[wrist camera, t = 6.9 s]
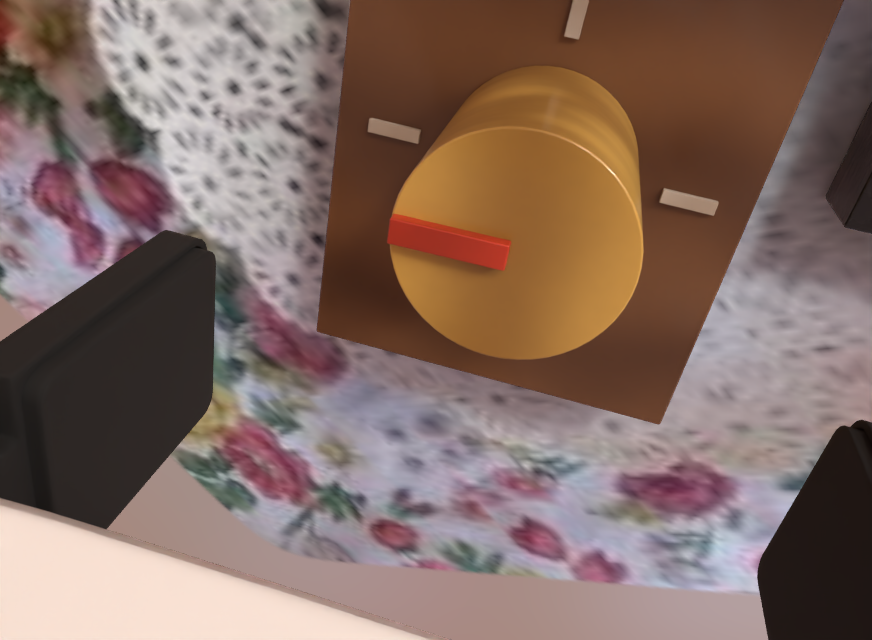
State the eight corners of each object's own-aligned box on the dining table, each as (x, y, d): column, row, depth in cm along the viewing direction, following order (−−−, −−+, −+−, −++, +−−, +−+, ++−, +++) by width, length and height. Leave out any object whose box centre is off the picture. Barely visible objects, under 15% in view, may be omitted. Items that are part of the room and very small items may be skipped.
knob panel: (656, 371, 25) (660, 429, 22) (345, 288, 26) (314, 334, 23) (849, -100, 18) (889, -98, 15) (404, -188, 19) (367, -201, 16)
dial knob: (664, 88, 18) (681, 165, 13) (607, 271, 20) (603, 393, 15) (461, 46, 18) (401, 104, 13) (431, 230, 21) (372, 335, 16)
